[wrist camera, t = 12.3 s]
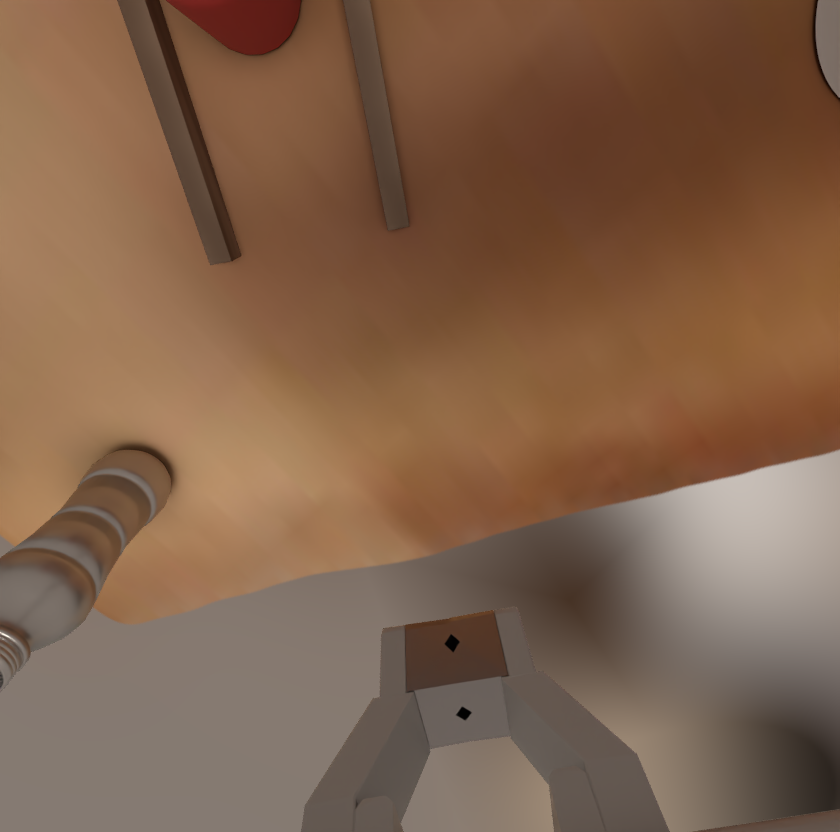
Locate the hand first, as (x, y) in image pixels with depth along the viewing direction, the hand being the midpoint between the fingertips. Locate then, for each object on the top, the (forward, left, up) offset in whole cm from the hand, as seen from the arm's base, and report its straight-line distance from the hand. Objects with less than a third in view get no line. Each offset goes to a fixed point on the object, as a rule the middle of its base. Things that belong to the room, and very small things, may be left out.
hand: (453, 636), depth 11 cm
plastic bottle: (+26, +10, -31) cm, 42 cm away
